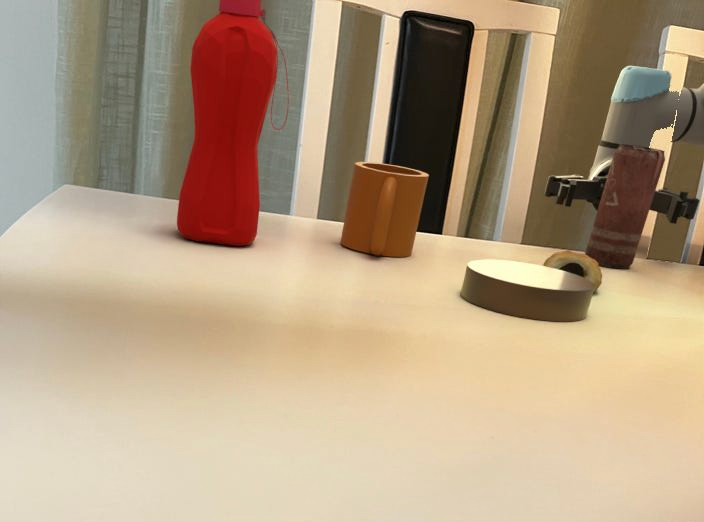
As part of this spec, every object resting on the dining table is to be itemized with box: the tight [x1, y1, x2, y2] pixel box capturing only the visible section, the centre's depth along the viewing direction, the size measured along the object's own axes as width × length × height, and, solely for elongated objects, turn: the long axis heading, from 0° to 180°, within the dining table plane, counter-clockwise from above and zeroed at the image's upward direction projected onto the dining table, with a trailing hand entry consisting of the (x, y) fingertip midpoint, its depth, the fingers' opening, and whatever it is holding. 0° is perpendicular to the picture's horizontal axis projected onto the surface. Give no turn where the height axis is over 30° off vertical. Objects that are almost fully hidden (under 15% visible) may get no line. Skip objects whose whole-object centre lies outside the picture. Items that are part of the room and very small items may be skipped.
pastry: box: [543, 250, 603, 292], centre depth 115 cm, size 9×7×4 cm
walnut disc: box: [460, 259, 595, 323], centre depth 104 cm, size 13×13×3 cm
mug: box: [340, 161, 430, 258], centre depth 118 cm, size 9×12×9 cm
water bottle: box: [176, 0, 290, 247], centre depth 110 cm, size 9×11×25 cm
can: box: [584, 144, 666, 270], centre depth 128 cm, size 6×6×14 cm
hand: (623, 204), depth 132 cm, fingers open, 13 cm apart
